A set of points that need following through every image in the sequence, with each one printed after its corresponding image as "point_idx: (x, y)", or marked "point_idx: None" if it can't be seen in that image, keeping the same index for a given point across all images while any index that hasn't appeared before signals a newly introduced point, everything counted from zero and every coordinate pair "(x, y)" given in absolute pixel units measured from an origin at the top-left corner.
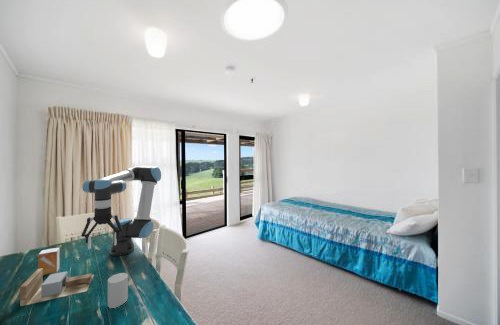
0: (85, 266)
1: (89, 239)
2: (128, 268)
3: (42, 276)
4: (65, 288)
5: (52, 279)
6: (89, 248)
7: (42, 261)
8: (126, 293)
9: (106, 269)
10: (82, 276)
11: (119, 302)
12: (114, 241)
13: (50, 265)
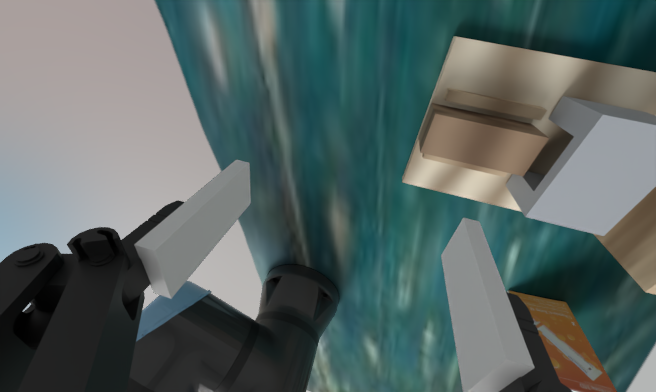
0: (418, 269)
1: (499, 320)
2: (279, 157)
3: (615, 255)
4: (539, 114)
5: (624, 170)
6: (468, 223)
7: (583, 356)
8: None
9: (356, 203)
10: (464, 144)
11: None
12: (225, 183)
13: (541, 324)
